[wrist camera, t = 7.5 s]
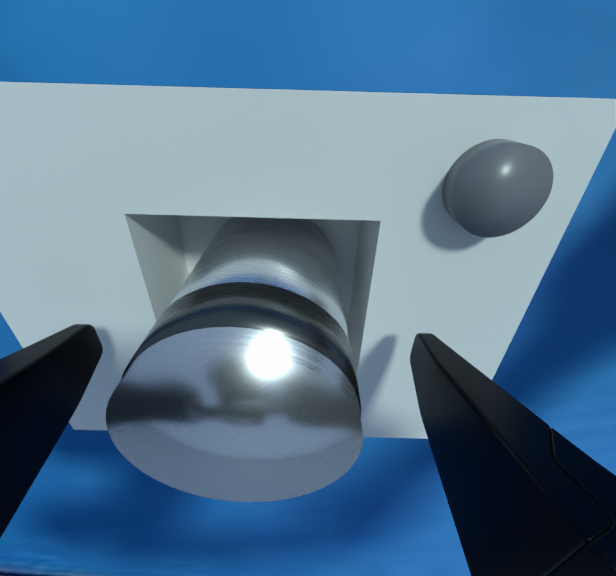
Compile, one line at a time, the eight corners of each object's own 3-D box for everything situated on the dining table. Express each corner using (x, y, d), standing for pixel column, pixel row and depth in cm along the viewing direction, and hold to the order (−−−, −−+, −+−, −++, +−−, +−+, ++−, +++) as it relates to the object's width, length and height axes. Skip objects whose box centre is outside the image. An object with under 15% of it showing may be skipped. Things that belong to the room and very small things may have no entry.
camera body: (504, 96, 11) (666, 100, 6) (425, 353, 17) (471, 458, 12) (36, 83, 11) (-201, 75, 6) (132, 345, 17) (60, 448, 12)
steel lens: (344, 208, 11) (384, 352, 5) (333, 323, 14) (351, 504, 8) (196, 204, 11) (57, 345, 5) (216, 320, 14) (142, 500, 8)
